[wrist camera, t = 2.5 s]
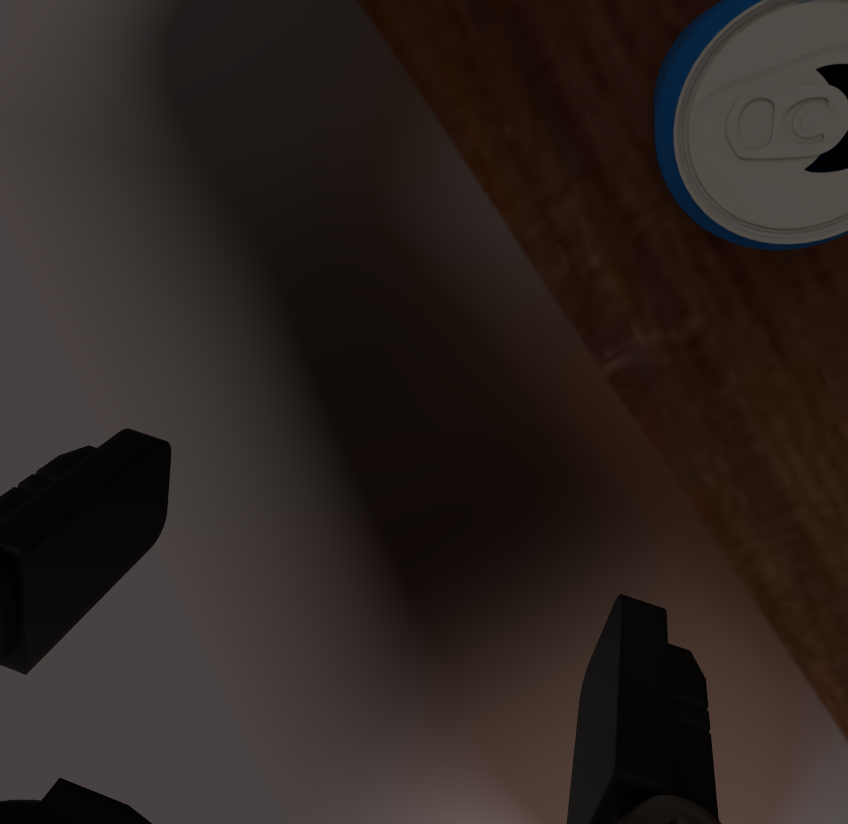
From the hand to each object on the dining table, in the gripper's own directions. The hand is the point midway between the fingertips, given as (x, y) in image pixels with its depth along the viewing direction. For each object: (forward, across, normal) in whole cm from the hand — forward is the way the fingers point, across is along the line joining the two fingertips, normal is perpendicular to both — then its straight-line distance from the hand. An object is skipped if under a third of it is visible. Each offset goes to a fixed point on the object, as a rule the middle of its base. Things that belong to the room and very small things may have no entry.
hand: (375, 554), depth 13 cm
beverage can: (+22, -6, -8) cm, 24 cm away
